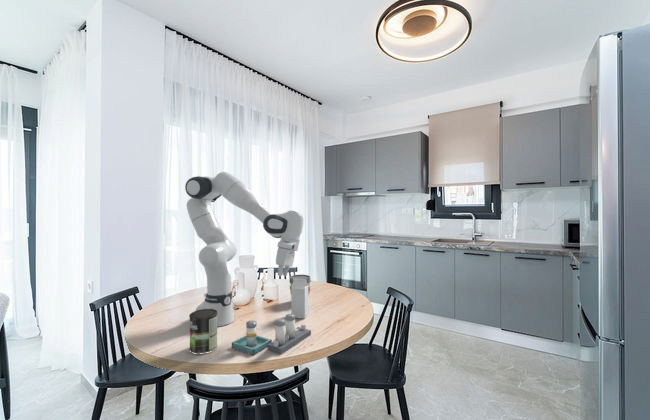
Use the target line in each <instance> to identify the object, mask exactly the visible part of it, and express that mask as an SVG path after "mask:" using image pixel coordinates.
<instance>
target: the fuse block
mask: <svg viewBox="0 0 650 420" xmlns="http://www.w3.org/2000/svg"><path fill="white" fill-rule="evenodd" d="M306 327H307V326H306V324H304V323H301V324H300V326H297V327H295V338H294V339H289V335H287V334H286V333H285V344H284V345H281V346H278V341H276V340H275V339H274V340H273V341H272V342H271V343H270V344H268V347H267V351H270V352H273V353H276V354H279V355H283V354H284V353H286V352H287V351H288V350H291V349H292V348H294V347H295V346H296V345H298V344H300V343H302V341H304V340H306V339H307V338H308V337H310V336H311V334H312V330H311V329H307V328H306Z"/></svg>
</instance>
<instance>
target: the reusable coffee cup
mask: <svg viewBox="0 0 650 420" xmlns="http://www.w3.org/2000/svg"><path fill="white" fill-rule="evenodd" d="M293 279H307V284H308V296H309V295H310V290H311V276H310V275H308V274H293V275H291V276H289V285H290V286H289V290H290V293H291V287H292V284H293Z"/></svg>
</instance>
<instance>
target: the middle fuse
mask: <svg viewBox="0 0 650 420" xmlns="http://www.w3.org/2000/svg"><path fill="white" fill-rule="evenodd" d="M295 328H296V318H295V314H291V313H287V314H285V334H287V335H289V339H294V338H295Z"/></svg>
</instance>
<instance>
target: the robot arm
mask: <svg viewBox="0 0 650 420" xmlns="http://www.w3.org/2000/svg"><path fill="white" fill-rule="evenodd" d="M185 182H186V183H185V186H184V187H185V188H184V190H185V192H186V194H187V195H188V196H189V197H190V198H189V199H188V200H187V201H186V208H187V209H186V210H187V214H188V216H189V219H190V222H191V223H192V226H193V228H194V230H195V233H196V235H197V236H198V238H200V239H201V240H202V241H203V242H204V243H205V246H204V247H203V248H201V250H200V251H199V254H198V260H199V262H200V264H201V265H202V266H203V269H204V271H205V275H206V292H207V293H204V294H203V296H204V301H202V302H201V303H200V304H199V305H198V306H197V307H196V308H195V311H197V310H202V309H214V310H217V312H218V313H217V327H223V326H226V325H229V324H231V323H232V324H233V322H234V321H235V319H236V318H235V317H236V313H235V311H234V302H233V291H232V275H231V273H229V270H228V264H227V263H228V262H229V261H232V260H233V259H234V258H235V256H236V255H237V250H238V249H237V245H235V243H234V242H233V241H231V239H229V237H228V236H227V234H226V233H225V232H224V230H223V229H222V227H221V226H220V224H219V221H218V219H217V217H216V214H215V212H214V209H213V208H212V206H211V205H212V204H211V203H214V202H216V201H217V200H218V199H219V198H220V197H221V196H222V197H223V198H224V199H226V200H227V201H228V202H229V203H230V204H232V205H233V206H235V207H237V208H239V209H240V210H243V211H245V212H247V213H249V214H250V215H253V217H255V218H256V219H257V220H258V221H259V222H261V224H262V228H263V229H264V230H265V232H266V233H267V234H269V235H270V236H271V237H272V238H274V239H280V240H279V241H278V242H277V246H276V247H277V251H276V256H275V264H276V265H278V267H277V271H278V272H277V276H279V277H283V276H284V277H285V276H287V275H288V272H289V270H290V267H293V265H294V263H295V262H294V261H295V255H296V252H298V251H299V246H300V241H301V239H300V237H301V234H302V232H303V227H304V217H303V215H302V214H301V213H300V212H298V211H294V210H287V211H286V212H283V213H277V214H272V213H270V212H269V210H267V209H266V208H265V207H264V206H262V204H260V202H259V201H258V200H257V198H256V197H255V196H254V194H253V193H252V191H251V190H250V188H249V187H248V186H247V185H246V184H245V183H244V182H242V181H241V180H240V179H238V178H237V177H235V175H232V174H231V173H229V172H227V171H221V172H219V173H218V174H216V175H215V176H214V177H213V176H212V177H211V176H199V175H197V176H193V177H191V178H189V179H188V180H187V181H185Z"/></svg>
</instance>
